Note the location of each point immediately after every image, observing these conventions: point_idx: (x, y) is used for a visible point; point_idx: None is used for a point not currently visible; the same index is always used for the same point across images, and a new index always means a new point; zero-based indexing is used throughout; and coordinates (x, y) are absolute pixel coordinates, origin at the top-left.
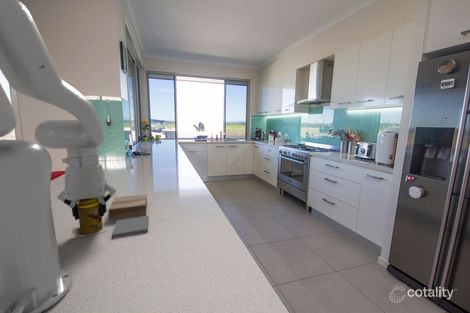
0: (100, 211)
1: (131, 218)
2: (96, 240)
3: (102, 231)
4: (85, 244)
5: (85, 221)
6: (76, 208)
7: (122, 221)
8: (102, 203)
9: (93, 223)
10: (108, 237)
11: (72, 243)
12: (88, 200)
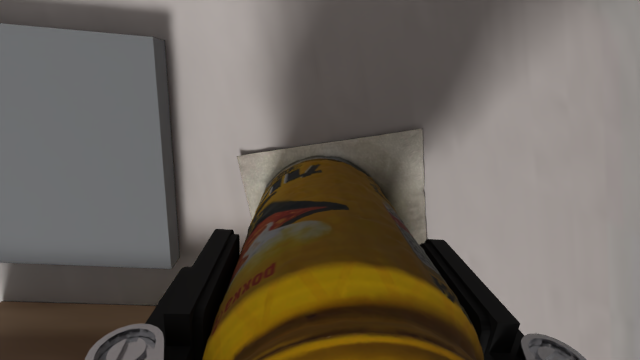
0: (217, 256)
1: (70, 258)
2: (267, 48)
3: (251, 163)
4: (328, 19)
5: (354, 185)
6: (480, 321)
7: (127, 233)
8: (143, 341)
9: (295, 181)
10: (194, 58)
11: (408, 74)
12: None
